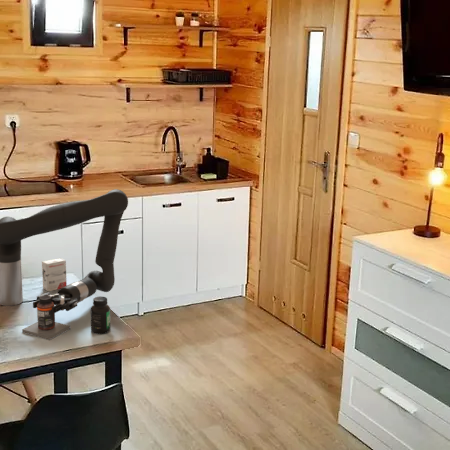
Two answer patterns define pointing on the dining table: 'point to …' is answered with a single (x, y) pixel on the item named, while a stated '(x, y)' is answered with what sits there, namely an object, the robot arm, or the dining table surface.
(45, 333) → the slate tile
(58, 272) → the ink box
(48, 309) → the supplement bottle
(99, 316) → the supplement bottle
